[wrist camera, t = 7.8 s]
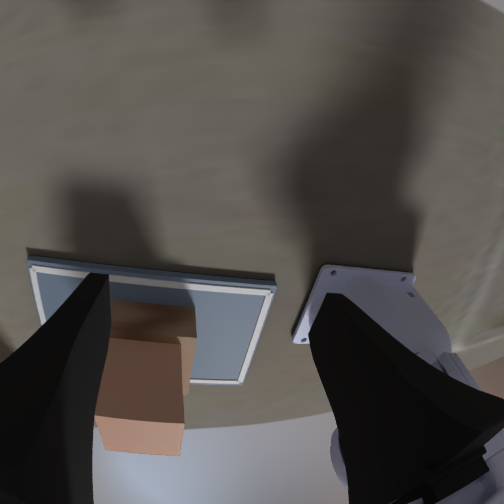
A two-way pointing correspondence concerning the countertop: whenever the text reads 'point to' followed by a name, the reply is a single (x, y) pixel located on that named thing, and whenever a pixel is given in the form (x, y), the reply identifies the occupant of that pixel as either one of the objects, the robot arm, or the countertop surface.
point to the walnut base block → (157, 328)
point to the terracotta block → (141, 398)
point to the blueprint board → (176, 294)
